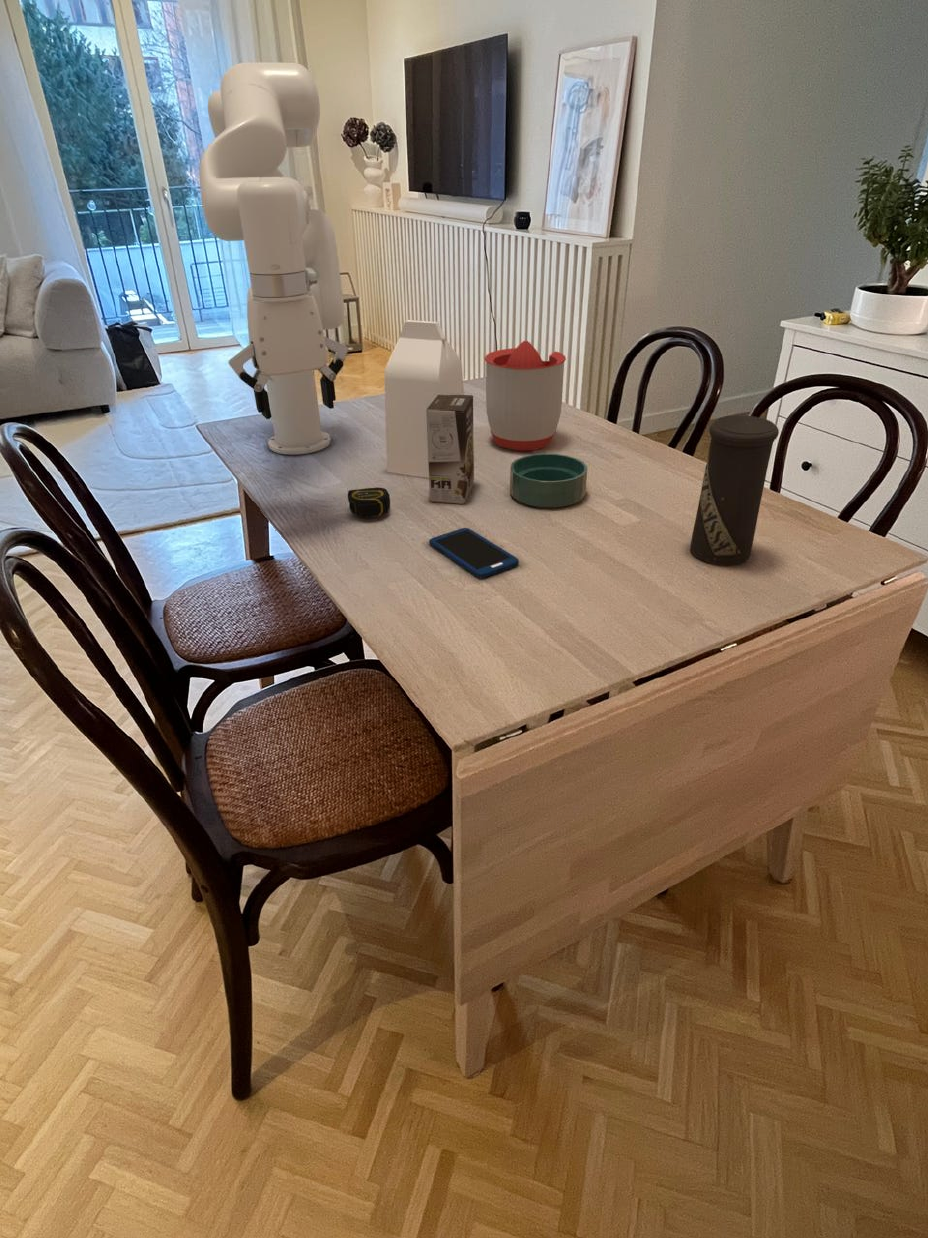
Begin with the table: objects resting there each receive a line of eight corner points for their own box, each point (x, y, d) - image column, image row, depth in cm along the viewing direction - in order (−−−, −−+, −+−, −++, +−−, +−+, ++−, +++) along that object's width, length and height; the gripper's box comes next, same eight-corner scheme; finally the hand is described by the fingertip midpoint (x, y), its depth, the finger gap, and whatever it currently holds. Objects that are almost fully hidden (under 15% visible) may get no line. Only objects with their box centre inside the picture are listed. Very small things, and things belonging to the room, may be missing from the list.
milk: (387, 471, 137) (375, 326, 123) (413, 451, 146) (404, 313, 131) (445, 480, 133) (440, 330, 119) (468, 458, 142) (466, 317, 128)
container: (680, 541, 111) (701, 411, 100) (737, 538, 112) (764, 408, 101) (700, 569, 104) (725, 432, 93) (761, 565, 104) (793, 429, 93)
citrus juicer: (577, 434, 152) (584, 334, 141) (539, 461, 140) (543, 353, 129) (512, 423, 159) (514, 326, 148) (470, 447, 147) (469, 344, 136)
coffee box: (465, 504, 124) (463, 410, 115) (428, 502, 125) (424, 408, 116) (475, 483, 131) (474, 394, 122) (440, 481, 132) (437, 392, 124)
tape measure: (388, 503, 125) (387, 483, 123) (392, 520, 119) (391, 499, 117) (348, 507, 124) (346, 486, 122) (350, 524, 118) (348, 503, 116)
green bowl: (496, 489, 129) (496, 462, 126) (557, 474, 134) (558, 448, 131) (536, 516, 120) (537, 487, 117) (600, 499, 125) (602, 472, 122)
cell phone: (480, 579, 102) (480, 575, 102) (427, 543, 112) (426, 538, 111) (521, 564, 106) (521, 560, 105) (466, 530, 115) (466, 526, 115)
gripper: (331, 277, 105) (344, 396, 114) (209, 288, 98) (233, 414, 108) (349, 283, 99) (361, 408, 109) (221, 295, 93) (246, 428, 102)
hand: (298, 411), depth 108 cm, fingers open, 9 cm apart
